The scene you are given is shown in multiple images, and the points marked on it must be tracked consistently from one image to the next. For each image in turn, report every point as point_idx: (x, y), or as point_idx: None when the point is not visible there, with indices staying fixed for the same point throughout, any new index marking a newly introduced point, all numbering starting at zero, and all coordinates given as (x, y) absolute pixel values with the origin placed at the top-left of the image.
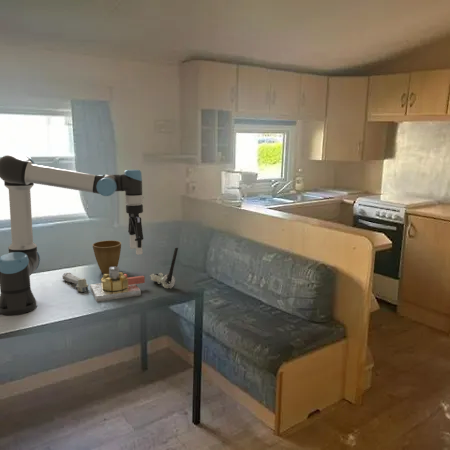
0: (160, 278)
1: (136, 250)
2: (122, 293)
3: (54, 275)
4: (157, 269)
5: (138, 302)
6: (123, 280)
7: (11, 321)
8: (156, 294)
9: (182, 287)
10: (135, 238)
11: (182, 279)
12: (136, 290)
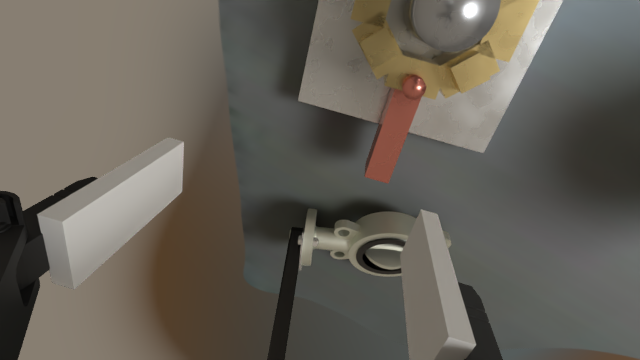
0: (349, 234)
1: (139, 154)
2: (319, 3)
3: None
4: (560, 321)
5: (226, 39)
6: (360, 41)
7: None
8: (275, 151)
9: None
10: (409, 341)
11: (368, 305)
12: (306, 82)
